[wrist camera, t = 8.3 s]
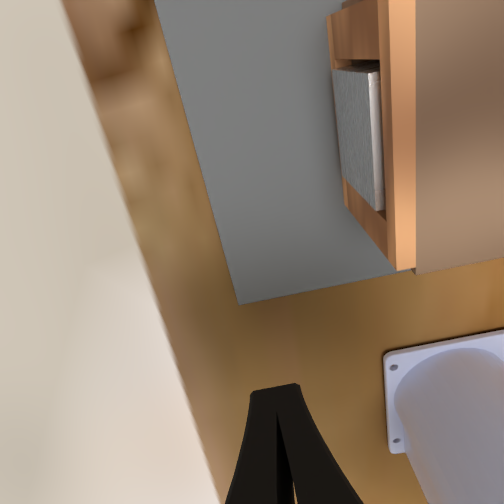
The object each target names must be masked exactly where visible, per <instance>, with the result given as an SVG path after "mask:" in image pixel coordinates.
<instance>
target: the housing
mask: <svg viewBox="0 0 504 504" xmlns="http://www.w3.org/2000/svg"><path fill="white" fill-rule="evenodd" d="M326 21H327V32H328V42H329V52H330V62H331V73H332V69H337V68H341V67H345V66H349V65H354V64H358V63H362V62H367V61H371V60H375V59H380V75H381V99H382V123H383V147H384V171H385V195H386V209H384V210H379V211H375V210H374V209H373V208H372V207H371V206H370V205H369V204H368V202H367V201H366V200H365V199H364V198H363V197H362V196H361V195H360V194H359V193H358V192H357V191H356V190H355V189H354V188H353V187H352V186H351V185H350V184H349V183H348V181H347V180H346V179H345V178H344V177H343V176H342V185H343V196H344V205H345V206H346V207H347V208H348V210H349V211H350V212H351V213H352V215H353V216H354V217H355V219H356V220H357V221H358V222H359V224H360V225H361V226H362V227H363V229H364V230H365V231H366V233H367V234H368V235H369V236H370V238H371V239H372V240H373V242H374V243H375V244H376V245H377V247H378V248H379V249H380V250H381V252H382V253H383V254H384V256H385V257H386V258H387V259H388V261H389V262H390V263H391V265H392V266H393V267H394V268H395V270H396V271H400V270H405V269H411V270H412V271H413V272H414V274H415V275H420V274H424V273H429V272H434V271H439V270H444V269H449V268H454V267H459V266H464V265H469V264H474V263H479V262H484V261H489V260H494V259H498V258H503V257H504V0H346V1H344V2H342V10H340V11H338V12H335V13H333V14H331V15H328V16H326ZM332 83H333V78H332ZM333 93H334V88H333ZM334 103H335V98H334ZM335 114H336V109H335ZM336 124H337V119H336ZM337 134H338V129H337ZM338 144H339V140H338ZM339 155H340V150H339ZM340 165H341V160H340ZM341 175H342V170H341Z"/></svg>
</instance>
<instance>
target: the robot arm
mask: <svg viewBox="0 0 504 504" xmlns="http://www.w3.org/2000/svg"><path fill="white" fill-rule="evenodd" d="M383 364H384V382H385V399H386V417H387V434H388V447H389V450H390V452H391V453H393V454H398V453H404V452H406V455H407V457H408V459H409V461H410V464H411V466H412V468H413V470H414V473H415V475H416V477H417V479H418V482H419V484H420V486H421V488H422V491H423V493H424V495H425V497H426V500H427V502H428V504H504V330H499V331H494V332H488V333H483V334H478V335H473V336H468V337H463V338H457V339H452V340H447V341H442V342H437V343H432V344H426V345H421V346H416V347H411V348H406V349H401V350H395V351H391V352H388V353H386V354H385V355H384V358H383ZM391 365H393V366H391ZM293 482H294V487H295V492H296V497H297V502H298V504H364V503H363V502H362V501H361V499H360V498H359V496H358V495H357V493H356V492H355V490H354V489H353V487H352V486H351V484H350V483H349V481H348V480H347V478H346V476H345V475H344V473H343V472H342V470H341V469H340V467H339V465H338V464H337V462H336V460H335V459H334V457H333V455H332V454H331V452H330V450H329V448H328V447H327V445H326V443H325V441H324V440H323V438H322V436H321V434H320V432H319V431H318V429H317V427H316V425H315V423H314V421H313V419H312V417H311V414H310V412H309V410H308V408H307V405H306V403H305V401H304V398H303V395H302V392H301V389H300V385H298V384H296V383H293V384H287V385H282V386H277V387H272V388H266V389H261V390H256V391H253V392H252V393H251V394H250V403H249V411H248V417H247V422H246V427H245V432H244V437H243V441H242V445H241V449H240V453H239V457H238V461H237V465H236V469H235V472H234V476H233V479H232V482H231V485H230V489H229V492H228V495H227V498H226V502H225V504H295V499H294V487H293Z"/></svg>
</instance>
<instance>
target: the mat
mask: <svg viewBox="0 0 504 504" xmlns="http://www.w3.org/2000/svg"><path fill="white" fill-rule="evenodd" d="M154 1H155V5H156V9H157V12H158V16H159V19H160V23H161V27H162V30H163V34H164V38H165V41H166V45H167V48H168V52H169V56H170V59H171V63H172V66H173V70H174V74H175V77H176V81H177V84H178V88H179V92H180V95H181V99H182V102H183V106H184V110H185V113H186V117H187V120H188V124H189V128H190V131H191V135H192V139H193V142H194V146H195V149H196V153H197V157H198V160H199V164H200V167H201V171H202V175H203V178H204V182H205V185H206V189H207V193H208V196H209V200H210V203H211V207H212V211H213V214H214V218H215V221H216V225H217V229H218V232H219V236H220V240H221V243H222V247H223V250H224V254H225V258H226V261H227V265H228V268H229V272H230V276H231V279H232V283H233V286H234V290H235V294H236V297H237V301H238V304H239V305H243V304H248V303H253V302H258V301H262V300H267V299H272V298H277V297H282V296H287V295H292V294H297V293H302V292H307V291H312V290H317V289H321V288H326V287H331V286H336V285H341V284H346V283H351V282H356V281H361V280H366V279H371V278H376V277H380V276H385V275H390V274H395V273H400V272H405V271H410V270H411V269H405V270H400V271H396V270H395V268H394V267H393V266H392V265H391V263H390V262H389V261H388V259H387V258H386V257H385V256H384V254H383V253H382V252H381V250H380V249H379V248H378V247H377V245H376V244H375V243H374V242H373V240H372V239H371V238H370V236H369V235H368V234H367V233H366V231H365V230H364V229H363V227H362V226H361V225H360V224H359V222H358V221H357V220H356V219H355V217H354V216H353V215H352V213H351V212H350V211H349V210H348V208H347V207H346V206H345V205H344V196H343V185H342V175H341V165H340V155H339V144H338V134H337V124H336V114H335V103H334V93H333V83H332V73H331V62H330V52H329V42H328V32H327V21H326V16H328V15H331V14H333V13H335V12H338V11H340V10H342V2H344V1H346V0H154Z"/></svg>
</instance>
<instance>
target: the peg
mask: <svg viewBox="0 0 504 504" xmlns="http://www.w3.org/2000/svg"><path fill="white" fill-rule="evenodd" d="M332 78H333V88H334V98H335V109H336V119H337V129H338V140H339V150H340V160H341V170H342V176H343V177H344V178H345V179H346V180H347V181H348V183H349V184H350V185H351V186H352V187H353V188H354V189H355V190H356V191H357V192H358V193H359V194H360V195H361V196H362V197H363V198H364V199H365V200H366V201H367V202H368V204H369V205H370V206H371V207H372V208H373V209H374V210H375V211H379V210H384V209H386V195H385V171H384V147H383V123H382V99H381V75H380V59H375V60H371V61H367V62H362V63H358V64H354V65H349V66H345V67H341V68H337V69H332Z"/></svg>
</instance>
